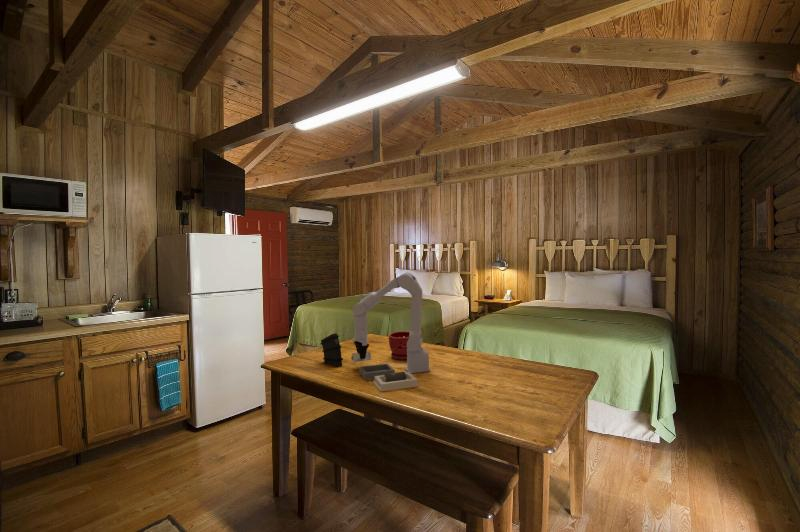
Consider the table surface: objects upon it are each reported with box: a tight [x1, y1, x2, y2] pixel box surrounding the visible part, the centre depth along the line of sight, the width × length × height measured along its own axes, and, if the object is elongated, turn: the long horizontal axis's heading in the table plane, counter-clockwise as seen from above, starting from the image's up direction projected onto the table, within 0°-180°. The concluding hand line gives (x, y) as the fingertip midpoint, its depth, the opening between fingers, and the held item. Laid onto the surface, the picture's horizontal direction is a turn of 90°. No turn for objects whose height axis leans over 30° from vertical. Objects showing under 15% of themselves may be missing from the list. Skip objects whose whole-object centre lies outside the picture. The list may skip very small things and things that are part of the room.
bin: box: [359, 363, 396, 381], centre depth 168 cm, size 13×10×3 cm
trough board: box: [372, 371, 419, 392], centre depth 156 cm, size 16×10×3 cm, turn 109°
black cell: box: [384, 371, 406, 382], centre depth 156 cm, size 9×4×4 cm, turn 109°
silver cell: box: [350, 351, 372, 363], centre depth 178 cm, size 9×4×4 cm
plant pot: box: [388, 331, 410, 361], centre depth 194 cm, size 13×13×12 cm
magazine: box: [319, 332, 344, 368], centre depth 185 cm, size 4×13×15 cm, turn 45°
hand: (361, 357), depth 178 cm, fingers closed on silver cell, 4 cm apart
